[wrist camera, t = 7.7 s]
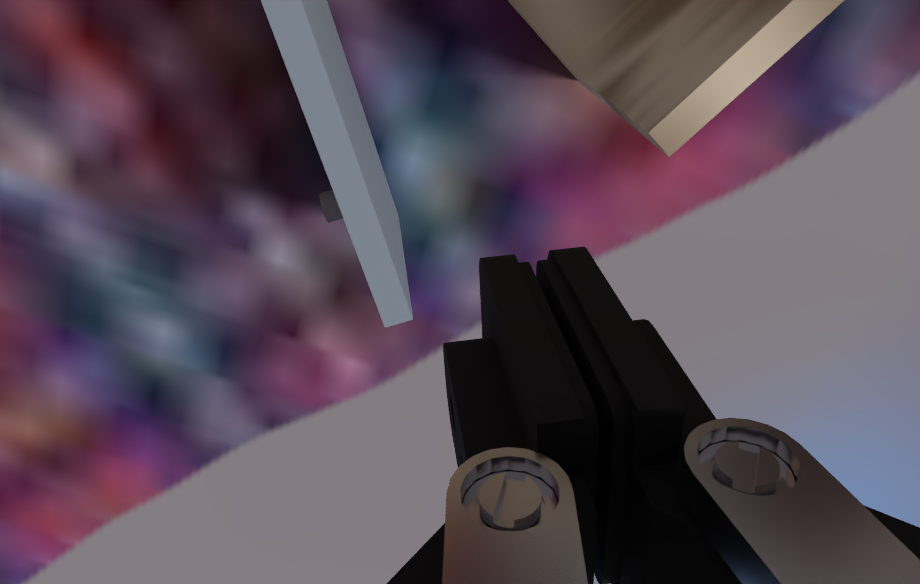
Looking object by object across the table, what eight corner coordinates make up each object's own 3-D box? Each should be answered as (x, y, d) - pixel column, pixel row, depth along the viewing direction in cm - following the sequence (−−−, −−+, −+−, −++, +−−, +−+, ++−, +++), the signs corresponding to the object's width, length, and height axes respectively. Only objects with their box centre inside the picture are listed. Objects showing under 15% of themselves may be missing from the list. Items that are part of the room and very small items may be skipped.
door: (353, 226, 28) (354, 340, 21) (164, -281, 20) (57, -380, 13) (403, 212, 28) (421, 320, 21) (235, -303, 20) (169, -413, 13)
